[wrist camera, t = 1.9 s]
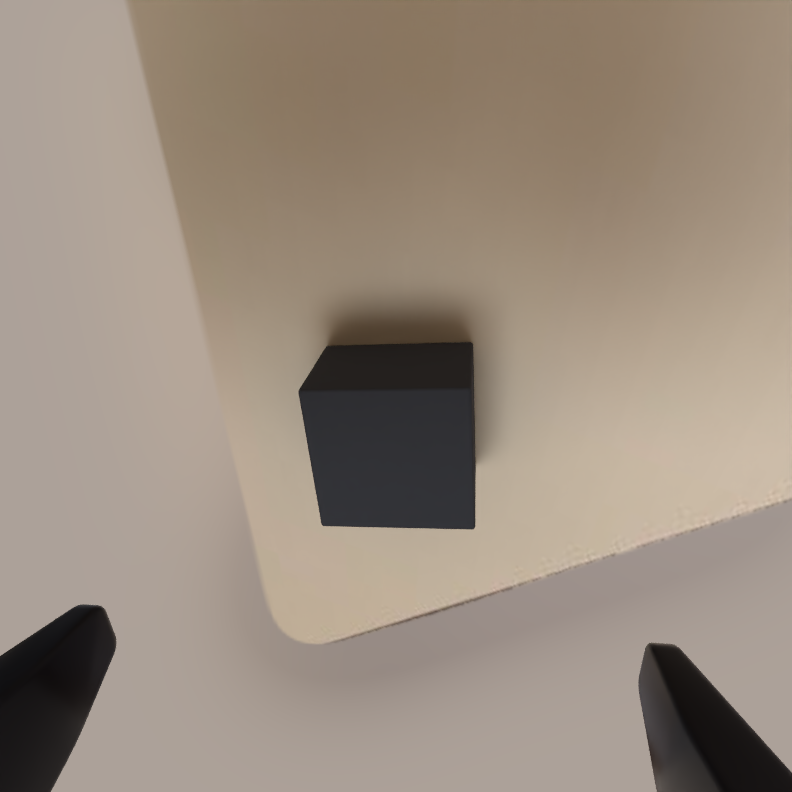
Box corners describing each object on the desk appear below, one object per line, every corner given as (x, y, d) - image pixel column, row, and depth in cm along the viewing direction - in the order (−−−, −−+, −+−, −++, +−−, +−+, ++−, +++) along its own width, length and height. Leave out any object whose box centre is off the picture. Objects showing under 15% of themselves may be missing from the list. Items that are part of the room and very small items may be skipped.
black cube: (343, 466, 22) (320, 527, 19) (326, 344, 19) (297, 390, 16) (475, 467, 21) (475, 530, 18) (473, 341, 19) (471, 388, 16)
